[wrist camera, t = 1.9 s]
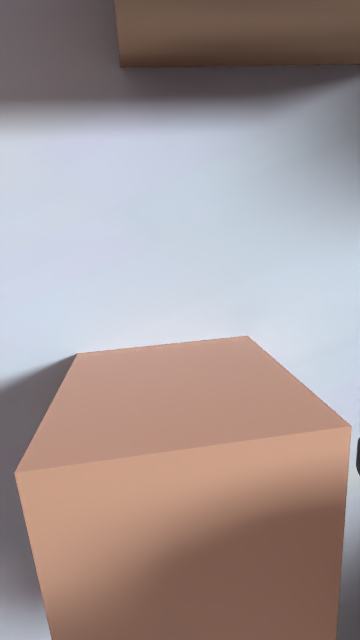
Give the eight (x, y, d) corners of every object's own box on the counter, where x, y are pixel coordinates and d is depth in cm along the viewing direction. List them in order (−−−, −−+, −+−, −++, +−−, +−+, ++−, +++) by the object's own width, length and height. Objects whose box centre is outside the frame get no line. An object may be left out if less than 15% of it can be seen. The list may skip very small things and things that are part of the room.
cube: (248, 474, 11) (334, 656, 6) (100, 497, 11) (68, 714, 6) (246, 335, 10) (351, 425, 5) (77, 352, 9) (14, 472, 4)
